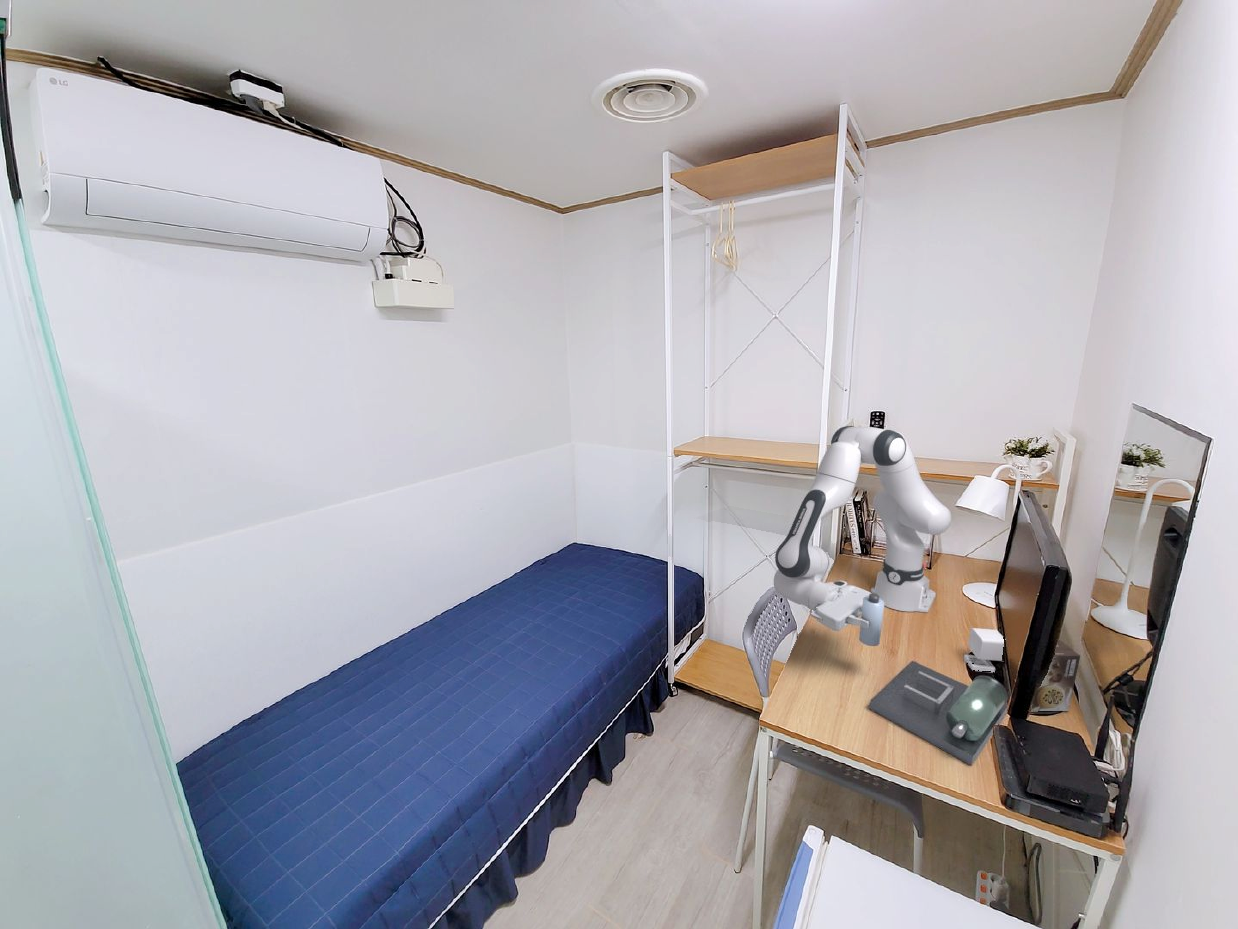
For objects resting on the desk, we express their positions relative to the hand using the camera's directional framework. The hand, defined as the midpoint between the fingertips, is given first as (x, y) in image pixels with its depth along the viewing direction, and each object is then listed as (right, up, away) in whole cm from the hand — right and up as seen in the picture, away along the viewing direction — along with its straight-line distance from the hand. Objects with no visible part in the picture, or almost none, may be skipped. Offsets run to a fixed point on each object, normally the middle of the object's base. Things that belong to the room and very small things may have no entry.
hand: (875, 620), depth 131 cm
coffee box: (+37, -19, -7) cm, 43 cm away
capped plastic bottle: (0, -6, +2) cm, 7 cm away
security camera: (+34, -15, +7) cm, 37 cm away
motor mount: (+11, -20, -9) cm, 24 cm away
